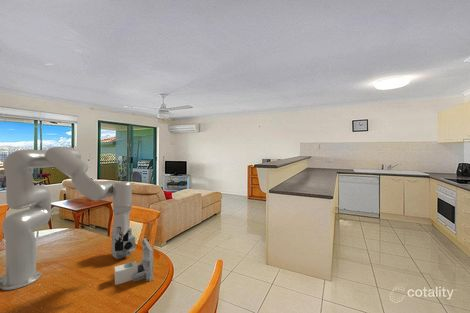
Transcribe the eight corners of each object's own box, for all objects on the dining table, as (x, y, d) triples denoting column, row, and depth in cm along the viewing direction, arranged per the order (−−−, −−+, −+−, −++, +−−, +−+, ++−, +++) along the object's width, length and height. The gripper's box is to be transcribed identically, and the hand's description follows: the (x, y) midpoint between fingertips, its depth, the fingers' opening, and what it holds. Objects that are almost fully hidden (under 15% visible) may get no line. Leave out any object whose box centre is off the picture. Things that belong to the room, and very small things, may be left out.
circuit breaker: (122, 263, 109) (122, 235, 108) (111, 255, 117) (111, 229, 117) (136, 257, 115) (136, 231, 114) (124, 250, 123) (124, 225, 123)
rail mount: (134, 286, 90) (134, 254, 90) (129, 269, 103) (129, 241, 103) (153, 280, 94) (153, 250, 94) (145, 264, 108) (145, 238, 107)
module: (115, 285, 91) (115, 271, 91) (114, 279, 95) (114, 266, 95) (137, 278, 96) (137, 265, 96) (135, 273, 100) (135, 260, 100)
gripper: (118, 204, 101) (118, 238, 101) (106, 214, 84) (106, 255, 85) (135, 203, 103) (134, 237, 103) (126, 213, 86) (126, 253, 87)
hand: (122, 245), depth 94 cm, fingers open, 9 cm apart
